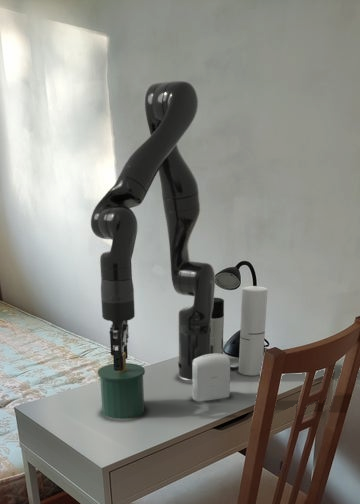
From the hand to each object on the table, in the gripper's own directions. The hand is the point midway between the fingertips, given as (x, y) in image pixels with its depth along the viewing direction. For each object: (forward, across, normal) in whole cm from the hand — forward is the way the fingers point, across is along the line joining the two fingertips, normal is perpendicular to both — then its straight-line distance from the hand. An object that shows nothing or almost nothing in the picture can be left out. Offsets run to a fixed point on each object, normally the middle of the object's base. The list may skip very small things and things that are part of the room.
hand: (121, 364), depth 129 cm
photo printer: (+13, +9, -22) cm, 27 cm away
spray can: (+13, +38, -24) cm, 47 cm away
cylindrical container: (+13, +30, -35) cm, 48 cm away
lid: (+2, 0, 0) cm, 2 cm away
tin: (+13, 0, 0) cm, 13 cm away
